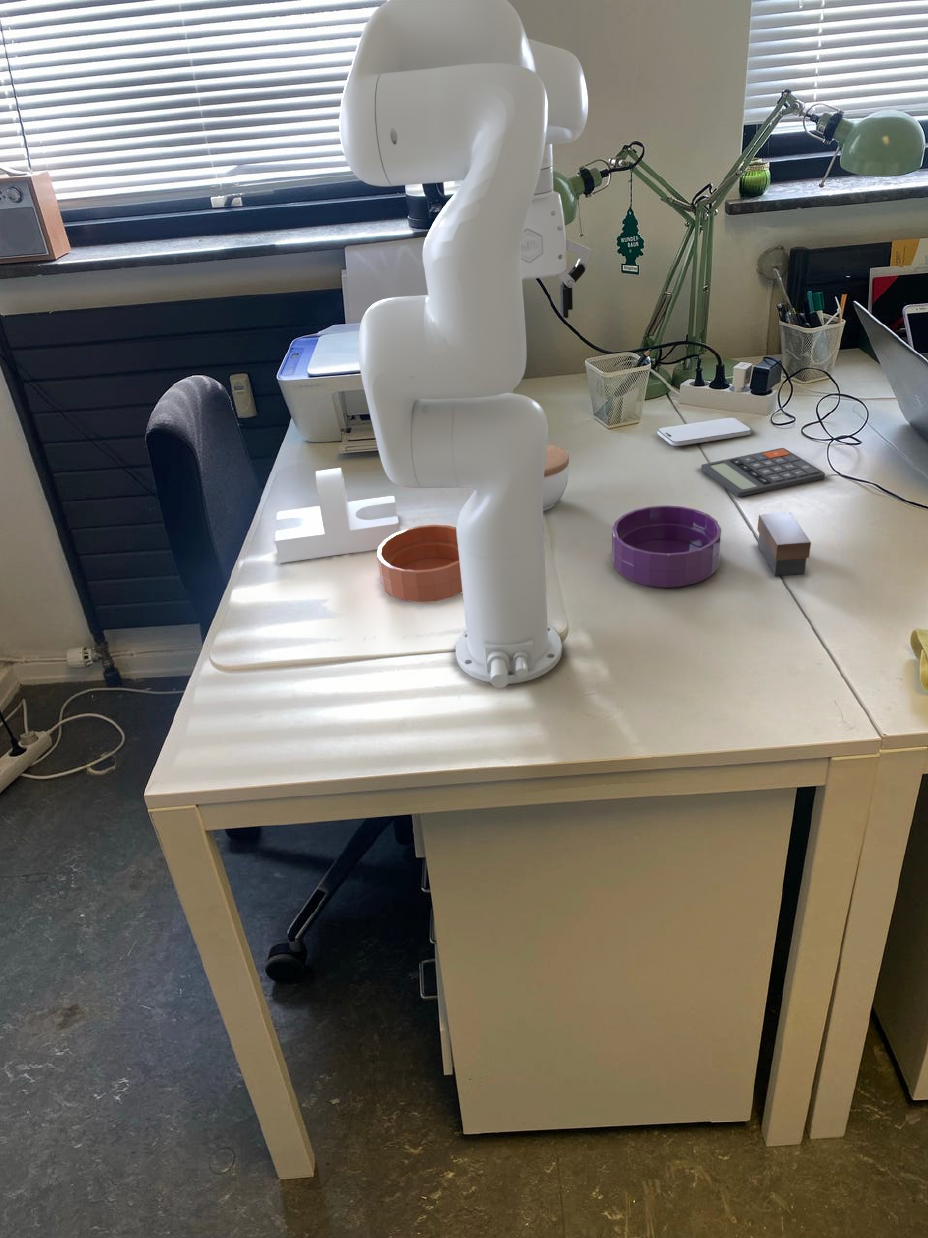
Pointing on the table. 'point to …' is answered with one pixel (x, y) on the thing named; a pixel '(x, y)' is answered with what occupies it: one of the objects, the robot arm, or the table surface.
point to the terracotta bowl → (421, 563)
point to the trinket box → (554, 475)
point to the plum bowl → (666, 546)
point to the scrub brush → (783, 543)
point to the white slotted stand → (334, 523)
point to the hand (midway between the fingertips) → (530, 318)
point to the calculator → (762, 472)
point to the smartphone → (703, 431)
